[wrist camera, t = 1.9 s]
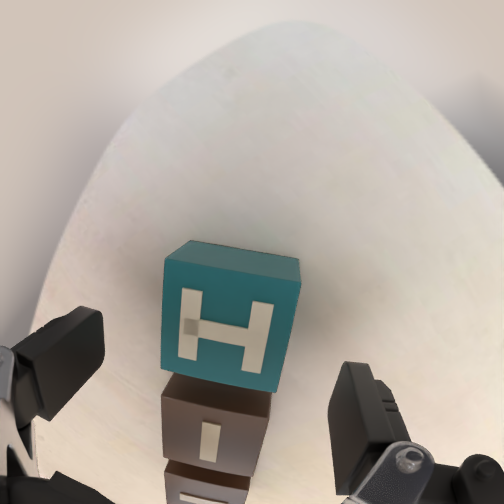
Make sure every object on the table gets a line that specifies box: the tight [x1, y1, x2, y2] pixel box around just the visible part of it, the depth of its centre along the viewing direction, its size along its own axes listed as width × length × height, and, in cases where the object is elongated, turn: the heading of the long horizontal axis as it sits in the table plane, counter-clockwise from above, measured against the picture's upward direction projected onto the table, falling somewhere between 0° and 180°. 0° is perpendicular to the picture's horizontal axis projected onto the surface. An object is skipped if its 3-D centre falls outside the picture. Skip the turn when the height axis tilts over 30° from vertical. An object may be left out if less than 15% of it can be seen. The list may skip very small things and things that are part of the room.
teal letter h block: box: [161, 241, 301, 393], centre depth 12 cm, size 5×5×3 cm
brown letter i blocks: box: [161, 372, 272, 504], centre depth 15 cm, size 11×5×3 cm, turn 171°
